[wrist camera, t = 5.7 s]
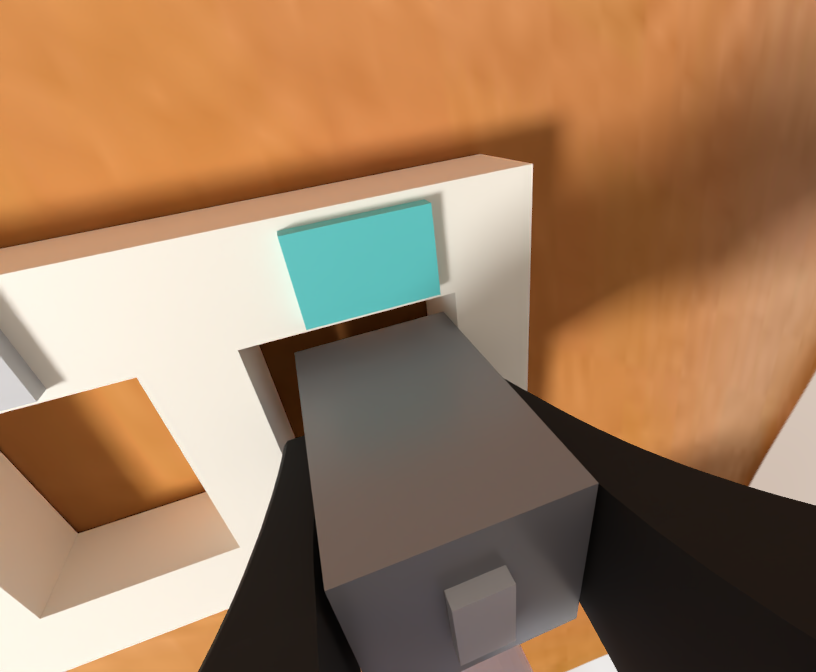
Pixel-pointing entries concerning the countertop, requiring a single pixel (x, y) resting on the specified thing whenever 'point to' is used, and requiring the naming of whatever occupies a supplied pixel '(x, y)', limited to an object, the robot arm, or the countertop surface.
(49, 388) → the socket board
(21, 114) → the countertop surface
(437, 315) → the plug
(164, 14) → the countertop surface
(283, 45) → the countertop surface
